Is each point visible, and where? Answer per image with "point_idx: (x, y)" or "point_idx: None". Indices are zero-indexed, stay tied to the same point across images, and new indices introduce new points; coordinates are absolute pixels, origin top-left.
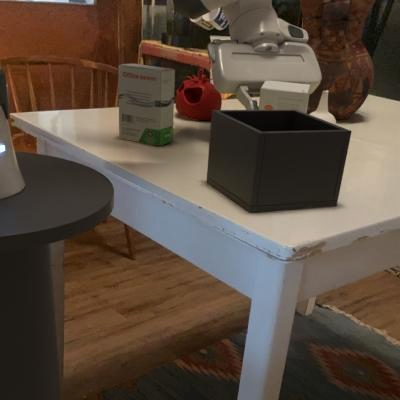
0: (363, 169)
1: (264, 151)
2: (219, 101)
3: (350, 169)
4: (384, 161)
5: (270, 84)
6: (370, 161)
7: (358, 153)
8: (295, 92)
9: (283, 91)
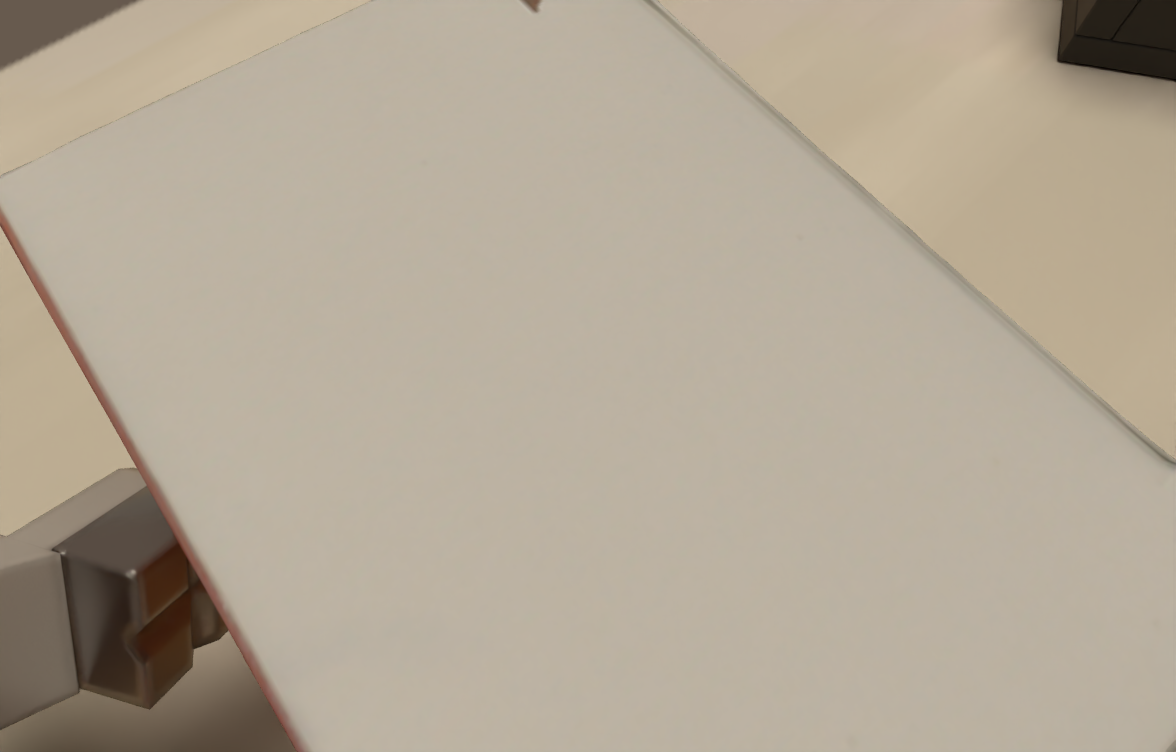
0: None
1: None
2: None
3: None
4: (81, 76)
5: (909, 658)
6: None
7: (14, 272)
8: (702, 48)
9: (866, 199)
